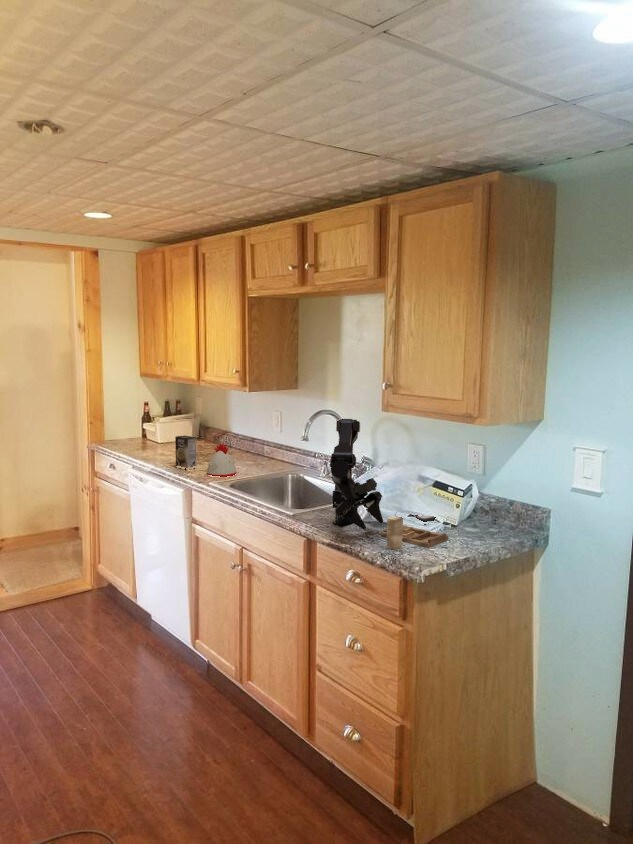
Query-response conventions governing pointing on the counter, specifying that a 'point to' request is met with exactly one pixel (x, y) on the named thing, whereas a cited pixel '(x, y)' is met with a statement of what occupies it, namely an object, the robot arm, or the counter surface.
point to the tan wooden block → (394, 532)
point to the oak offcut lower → (409, 534)
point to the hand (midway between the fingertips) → (373, 525)
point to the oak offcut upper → (406, 529)
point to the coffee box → (185, 451)
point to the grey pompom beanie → (221, 463)
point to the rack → (422, 538)
